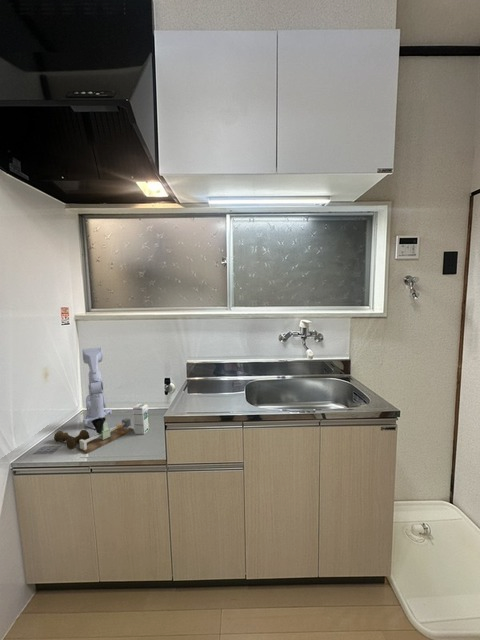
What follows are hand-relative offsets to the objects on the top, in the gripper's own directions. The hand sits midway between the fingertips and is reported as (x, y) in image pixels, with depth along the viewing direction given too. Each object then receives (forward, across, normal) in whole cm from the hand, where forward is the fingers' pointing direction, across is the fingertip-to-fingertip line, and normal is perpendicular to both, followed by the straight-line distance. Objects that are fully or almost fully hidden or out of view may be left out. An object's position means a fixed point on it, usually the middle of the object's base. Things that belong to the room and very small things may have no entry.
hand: (98, 432), depth 156 cm
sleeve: (+4, +3, 0) cm, 5 cm away
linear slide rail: (+4, +4, 0) cm, 6 cm away
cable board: (+5, +4, 0) cm, 7 cm away
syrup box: (+6, +19, -9) cm, 22 cm away
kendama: (+6, -7, +11) cm, 15 cm away
